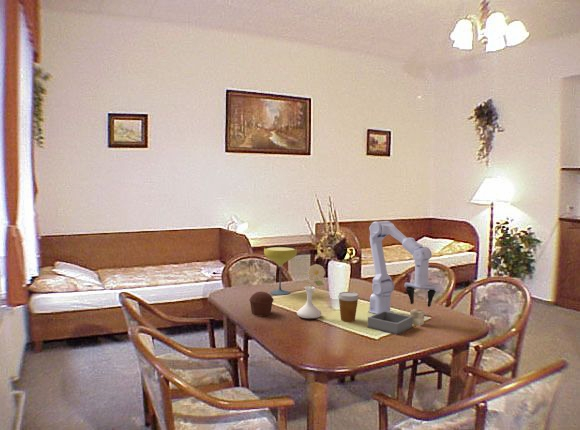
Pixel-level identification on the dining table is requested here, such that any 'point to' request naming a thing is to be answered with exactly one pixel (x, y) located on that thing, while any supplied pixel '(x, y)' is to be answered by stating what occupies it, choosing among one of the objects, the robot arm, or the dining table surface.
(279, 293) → the cocktail glass
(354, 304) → the disposable coffee cup
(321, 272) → the flower in vase
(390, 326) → the charcoal bin
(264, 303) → the muffin
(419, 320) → the birch block
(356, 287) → the dining table surface
